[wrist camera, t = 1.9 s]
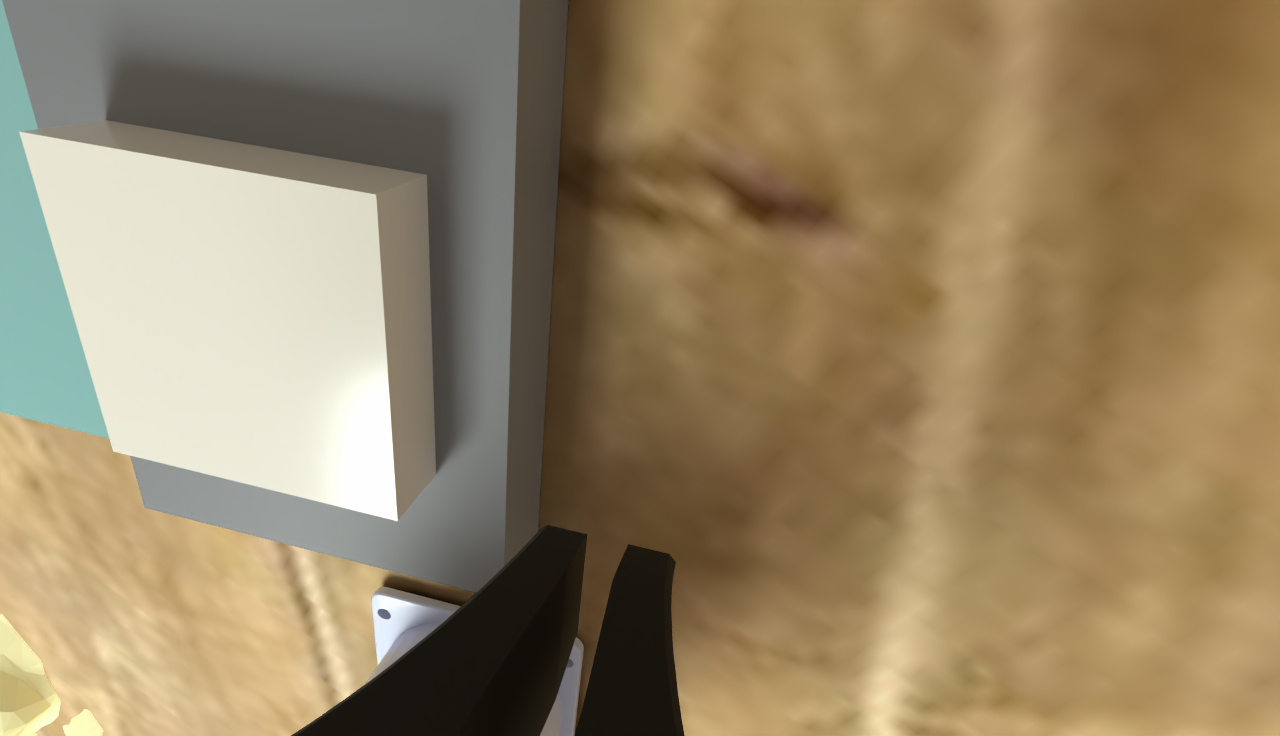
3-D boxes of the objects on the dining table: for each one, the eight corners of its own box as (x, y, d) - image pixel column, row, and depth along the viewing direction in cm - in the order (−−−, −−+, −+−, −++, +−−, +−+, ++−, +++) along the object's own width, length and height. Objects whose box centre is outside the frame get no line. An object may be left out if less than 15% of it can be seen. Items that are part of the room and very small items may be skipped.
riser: (538, 533, 23) (503, 599, 20) (216, 456, 24) (144, 507, 22) (569, -18, 15) (520, -27, 13) (103, -77, 17) (-26, -95, 14)
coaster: (435, 474, 19) (397, 520, 17) (175, 413, 20) (113, 451, 18) (426, 174, 15) (376, 195, 13) (105, 119, 16) (19, 131, 14)
